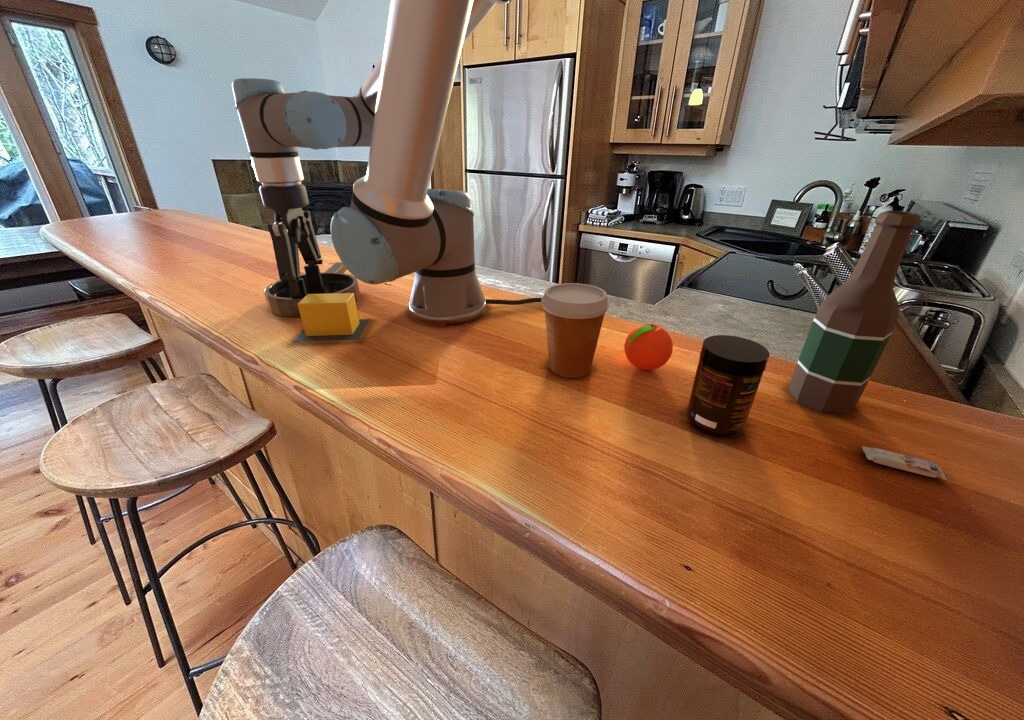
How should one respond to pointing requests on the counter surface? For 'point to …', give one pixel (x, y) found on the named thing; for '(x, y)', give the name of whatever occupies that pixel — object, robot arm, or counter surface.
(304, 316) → the sponge
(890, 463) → the granola bar
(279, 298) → the pan
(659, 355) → the clementine
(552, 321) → the disposable coffee cup
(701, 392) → the supplement container
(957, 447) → the counter surface
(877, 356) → the beer bottle
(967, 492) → the counter surface
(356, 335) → the mat
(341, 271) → the pan handle
